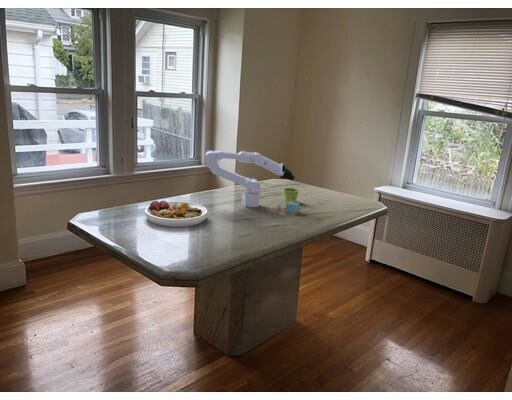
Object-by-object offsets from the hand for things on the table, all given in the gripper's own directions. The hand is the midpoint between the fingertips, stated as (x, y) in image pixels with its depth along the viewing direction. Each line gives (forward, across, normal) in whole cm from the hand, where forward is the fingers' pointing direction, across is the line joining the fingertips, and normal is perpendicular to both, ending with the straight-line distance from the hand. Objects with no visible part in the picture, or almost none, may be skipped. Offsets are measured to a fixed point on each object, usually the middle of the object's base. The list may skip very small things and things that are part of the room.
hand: (292, 176), depth 237 cm
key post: (-1, -10, +18) cm, 21 cm away
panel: (+3, -11, +18) cm, 22 cm away
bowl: (-49, -28, +41) cm, 69 cm away
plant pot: (+10, +8, +17) cm, 21 cm away
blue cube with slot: (+6, -12, +15) cm, 21 cm away
